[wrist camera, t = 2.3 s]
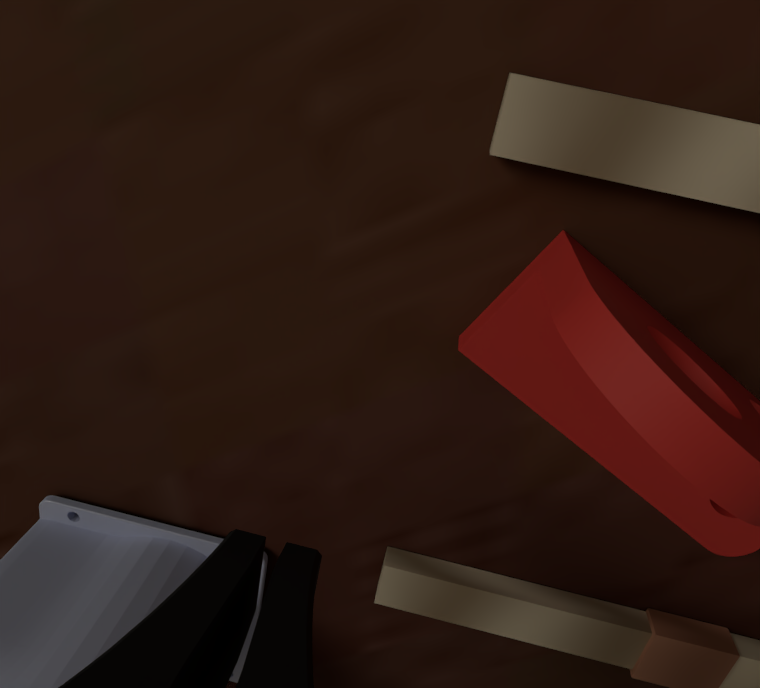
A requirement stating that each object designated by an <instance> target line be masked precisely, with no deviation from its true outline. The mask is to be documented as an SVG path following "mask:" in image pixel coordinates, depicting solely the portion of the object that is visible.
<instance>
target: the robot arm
mask: <svg viewBox="0 0 760 688" xmlns="http://www.w3.org/2000/svg"><path fill="white" fill-rule="evenodd" d="M39 512H40V519H39V520H38V521H37V522H36V523H35V524H34V525H33V527H32V528H31V529H30V530H29V531H28V532H27V533H26V534H25V535H24V536H23V537H22V538H21V539H20V540H19V541H18V542H17V543H16V544H15V545H14V546H13V547H12V548H11V549H10V551H9V552H8V553H7V554H6V555H5V556H4V557H3V558H2V559H1V560H0V688H225V687H226V685H227V683H228V681H232V682H236V683H237V686H236V688H314V685H313V664H312V618H313V602H314V594H315V589H316V584H317V578H318V573H319V568H320V563H321V558H322V555H321V554H320V553H319V552H318V550H315V549H312V548H308V547H304V546H300V545H296V544H292V543H288V542H287V543H286V545H285V547H284V549H283V551H282V553H281V555H280V556H279V559H278V561H277V563H276V565H275V567H274V569H273V571H272V574H271V577H270V580H269V584H268V587H267V590H266V593H265V597H264V600H263V603H262V598H263V591H264V584H265V577H266V570H267V563H268V556H267V554H266V553H265V552H264V547H265V540H266V537H264V536H260V535H257V534H253V533H249V532H245V531H241V530H237V529H235V530H233V531H231V532H230V533H229V534H228V535H227V536H226V537H225V539H222V538H218V537H214V536H210V535H206V534H203V533H199V532H195V531H191V530H187V529H183V528H179V527H175V526H171V525H167V524H163V523H160V522H156V521H152V520H148V519H144V518H140V517H136V516H132V515H128V514H124V513H121V512H117V511H113V510H109V509H105V508H101V507H97V506H93V505H89V504H85V503H81V502H78V501H74V500H70V499H66V498H62V497H58V496H52V495H50V496H47V497H46V498H45V499H44V500H43V501H42V502H41V503H40V505H39ZM76 513H77V514H76ZM261 605H262V606H261Z"/></svg>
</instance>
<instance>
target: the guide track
mask: <svg viewBox="0 0 760 688" xmlns="http://www.w3.org/2000/svg"><path fill="white" fill-rule="evenodd" d="M490 155H494V156H498V157H503V158H507V159H512V160H517V161H521V162H526V163H530V164H535V165H540V166H544V167H549V168H554V169H558V170H563V171H567V172H572V173H577V174H581V175H586V176H590V177H595V178H600V179H604V180H609V181H614V182H618V183H623V184H627V185H632V186H637V187H641V188H646V189H651V190H655V191H660V192H664V193H669V194H674V195H678V196H683V197H687V198H692V199H697V200H701V201H706V202H711V203H715V204H720V205H724V206H729V207H734V208H738V209H743V210H747V211H752V212H757V213H760V125H759V124H754V123H750V122H745V121H740V120H735V119H730V118H726V117H721V116H716V115H711V114H706V113H702V112H697V111H692V110H687V109H683V108H678V107H673V106H668V105H663V104H659V103H654V102H649V101H644V100H639V99H635V98H630V97H625V96H620V95H616V94H611V93H606V92H601V91H596V90H592V89H587V88H582V87H577V86H572V85H568V84H563V83H558V82H553V81H549V80H544V79H539V78H534V77H529V76H525V75H520V74H515V73H510V72H509V76H508V80H507V84H506V88H505V92H504V95H503V99H502V103H501V107H500V111H499V115H498V119H497V123H496V127H495V130H494V134H493V138H492V142H491V146H490ZM374 603H377V604H380V605H384V606H388V607H392V608H396V609H400V610H404V611H408V612H411V613H415V614H419V615H423V616H427V617H431V618H435V619H439V620H442V621H446V622H450V623H454V624H458V625H462V626H466V627H470V628H473V629H477V630H481V631H485V632H489V633H493V634H497V635H501V636H504V637H508V638H512V639H516V640H520V641H524V642H528V643H532V644H535V645H539V646H543V647H547V648H551V649H555V650H559V651H563V652H566V653H570V654H574V655H578V656H582V657H586V658H590V659H594V660H597V661H601V662H605V663H609V664H613V665H617V666H621V667H624V668H628V669H630V673H631V677H632V678H635V679H638V680H642V681H646V682H650V683H654V684H658V685H662V686H665V687H669V688H760V640H756V639H752V638H748V637H745V636H741V635H737V634H733V633H730V632H729V630H728V628H725V627H722V626H718V625H714V624H710V623H706V622H702V621H698V620H694V619H690V618H686V617H682V616H678V615H674V614H670V613H666V612H662V611H658V610H654V609H650V608H647V610H646V611H642V610H638V609H634V608H630V607H626V606H622V605H618V604H614V603H610V602H606V601H602V600H598V599H594V598H590V597H586V596H582V595H578V594H574V593H571V592H567V591H563V590H559V589H555V588H551V587H547V586H543V585H539V584H535V583H531V582H527V581H523V580H519V579H515V578H511V577H507V576H503V575H499V574H495V573H491V572H487V571H484V570H480V569H476V568H472V567H468V566H464V565H460V564H456V563H452V562H448V561H444V560H440V559H436V558H432V557H428V556H424V555H420V554H416V553H412V552H408V551H404V550H400V549H397V548H393V547H389V546H388V547H387V551H386V554H385V558H384V562H383V566H382V570H381V574H380V578H379V582H378V586H377V592H376V597H375V602H374Z"/></svg>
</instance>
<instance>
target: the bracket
mask: <svg viewBox="0 0 760 688" xmlns="http://www.w3.org/2000/svg"><path fill="white" fill-rule="evenodd" d="M458 350H459V351H460V352H461V353H462V354H464V355H465V356H466V357H467V358H469V359H470V360H471V361H472V362H474V363H475V364H476V365H477V366H479V367H480V368H481V369H482V370H484V371H485V372H486V373H487V374H489V375H490V376H491V377H492V378H494V379H495V380H496V381H497V382H499V383H500V384H501V385H502V386H504V387H505V388H506V389H507V390H509V391H510V392H511V393H512V394H514V395H515V396H516V397H517V398H519V399H520V400H521V401H522V402H524V403H525V404H526V405H527V406H529V407H530V408H531V409H532V410H534V411H535V412H536V413H537V414H539V415H540V416H541V417H542V418H544V419H545V420H546V421H547V422H549V423H550V424H551V425H552V426H554V427H555V428H556V429H557V430H559V431H560V432H561V433H562V434H564V435H565V436H566V437H567V438H569V439H570V440H571V441H572V442H574V443H575V444H576V445H577V446H579V447H580V448H581V449H582V450H584V451H585V452H586V453H587V454H589V455H590V456H591V457H592V458H594V459H595V460H596V461H597V462H599V463H600V464H601V465H602V466H604V467H605V468H606V469H607V470H609V471H610V472H611V473H612V474H614V475H615V476H616V477H617V478H619V479H620V480H621V481H622V482H624V483H625V484H626V485H627V486H629V487H630V488H631V489H632V490H634V491H635V492H636V493H637V494H639V495H640V496H641V497H642V498H644V499H645V500H646V501H647V502H649V503H650V504H651V505H652V506H654V507H655V508H656V509H657V510H659V511H660V512H661V513H662V514H664V515H665V516H666V517H667V518H669V519H670V520H671V521H672V522H674V523H675V524H676V525H677V526H679V527H680V528H681V529H682V530H684V531H685V532H686V533H687V534H689V535H690V536H691V537H692V538H694V539H695V540H696V541H697V542H699V543H700V544H701V545H702V546H704V547H705V548H706V549H708V550H709V551H711V552H713V553H715V554H718V555H722V556H731V557H734V556H742V555H747V554H750V553H752V552H755V551H757V550H758V549H760V401H759V400H758V399H757V398H756V397H755V396H753V395H752V394H751V393H750V392H749V391H748V390H747V389H745V388H744V387H743V386H742V385H741V384H740V383H739V382H737V381H736V380H735V379H734V378H733V377H732V376H731V375H729V374H728V373H727V372H726V371H725V370H724V369H723V368H721V367H720V366H719V365H718V364H717V363H716V362H714V361H713V360H712V359H711V358H710V357H709V356H708V355H706V354H705V353H704V352H703V351H702V350H701V349H700V348H698V347H697V346H696V345H695V344H694V343H693V342H692V341H690V340H689V339H688V338H687V337H686V336H685V335H684V334H682V333H681V332H680V331H679V330H678V329H677V328H676V327H674V326H673V325H672V324H671V323H670V322H669V321H667V320H666V319H665V318H664V317H663V316H662V315H661V314H659V313H658V312H657V311H656V310H655V309H654V308H653V307H651V306H650V305H649V304H648V303H647V302H646V301H645V300H643V299H642V298H641V297H640V296H639V295H638V294H637V293H635V292H634V291H633V290H632V289H631V288H630V287H629V286H627V285H626V284H625V283H624V282H623V281H622V280H620V279H619V278H618V277H617V276H616V275H615V274H614V273H612V272H611V271H610V270H609V269H608V268H607V267H606V266H604V265H603V264H602V263H601V262H600V261H599V260H598V259H596V258H595V257H594V256H593V255H592V254H591V253H590V252H588V251H587V250H586V249H585V248H584V247H583V246H582V245H580V244H579V243H578V242H577V241H576V240H575V239H573V238H572V237H571V236H570V235H569V234H568V233H567V232H565V231H564V230H563V231H562V232H561V233H560V234H559V235H558V236H557V237H556V238H555V239H554V240H553V241H552V242H551V243H550V244H549V245H548V246H547V247H546V248H545V249H544V250H543V251H542V252H541V253H540V254H539V255H538V256H537V257H536V258H535V259H534V260H533V261H532V262H531V263H530V264H529V265H528V266H527V267H526V268H525V270H524V271H523V272H522V273H521V274H520V275H519V276H518V277H517V278H516V279H515V280H514V281H513V282H512V283H511V284H510V285H509V286H508V287H507V288H506V289H505V290H504V291H503V292H502V293H501V294H500V295H499V296H498V297H497V298H496V299H495V300H494V301H493V302H492V303H491V304H490V305H489V306H488V307H487V308H486V309H485V310H484V311H483V312H482V313H481V315H480V316H479V317H478V318H477V319H476V320H475V321H474V322H473V323H472V324H471V325H470V326H469V327H468V328H467V329H466V330H465V331H464V332H463V333H462V334H461V335H460V336H459V345H458Z"/></svg>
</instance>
